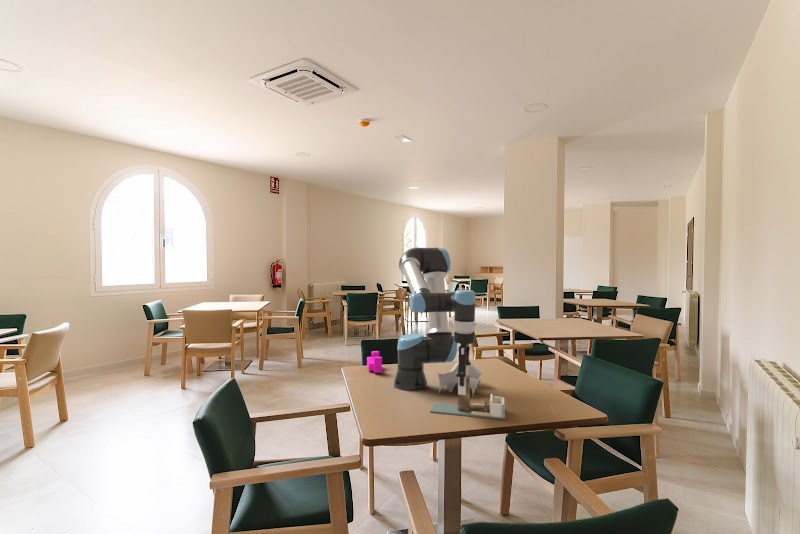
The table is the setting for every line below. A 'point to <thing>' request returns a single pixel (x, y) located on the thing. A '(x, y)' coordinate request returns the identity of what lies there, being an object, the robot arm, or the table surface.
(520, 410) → the table surface
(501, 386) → the table surface
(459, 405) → the tan l-shaped block
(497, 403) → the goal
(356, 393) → the table surface
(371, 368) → the toy block
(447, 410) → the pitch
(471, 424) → the table surface
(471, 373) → the sculpture
